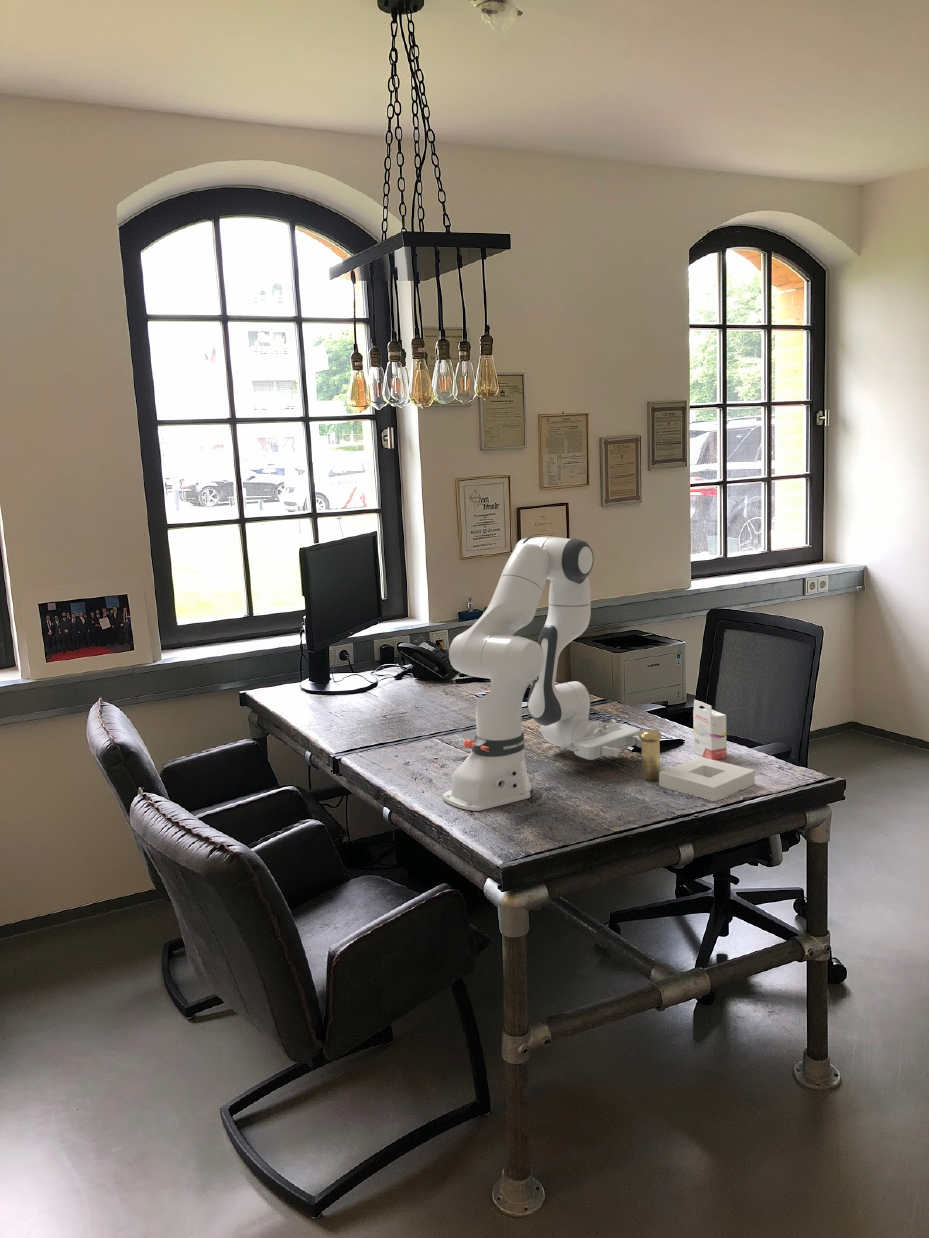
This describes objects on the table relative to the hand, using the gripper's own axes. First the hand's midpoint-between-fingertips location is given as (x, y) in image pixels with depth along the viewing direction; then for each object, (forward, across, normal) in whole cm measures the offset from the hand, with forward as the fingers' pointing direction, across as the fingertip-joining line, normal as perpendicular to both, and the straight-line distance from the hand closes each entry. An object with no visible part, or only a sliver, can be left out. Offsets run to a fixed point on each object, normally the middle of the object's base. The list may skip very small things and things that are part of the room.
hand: (632, 748), depth 247 cm
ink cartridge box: (+6, +24, +7) cm, 26 cm away
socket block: (+19, +5, +6) cm, 21 cm away
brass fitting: (+6, 0, +6) cm, 9 cm away
